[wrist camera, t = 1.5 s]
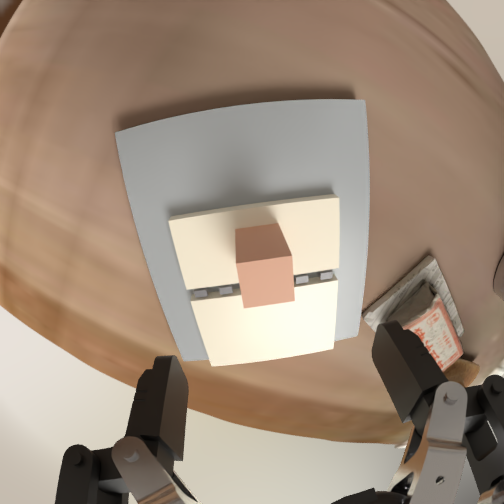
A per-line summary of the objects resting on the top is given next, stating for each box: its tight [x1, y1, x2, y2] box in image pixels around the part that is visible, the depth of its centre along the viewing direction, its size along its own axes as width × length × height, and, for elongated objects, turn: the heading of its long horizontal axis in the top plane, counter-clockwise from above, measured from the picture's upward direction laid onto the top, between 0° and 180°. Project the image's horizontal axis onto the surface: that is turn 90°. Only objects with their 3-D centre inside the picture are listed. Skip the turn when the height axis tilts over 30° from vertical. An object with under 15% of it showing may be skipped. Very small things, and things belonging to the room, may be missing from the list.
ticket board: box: [115, 99, 370, 366], centre depth 21 cm, size 18×22×2 cm
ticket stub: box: [168, 194, 340, 308], centre depth 18 cm, size 12×6×6 cm, turn 97°
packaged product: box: [362, 255, 464, 372], centre depth 27 cm, size 18×5×10 cm
